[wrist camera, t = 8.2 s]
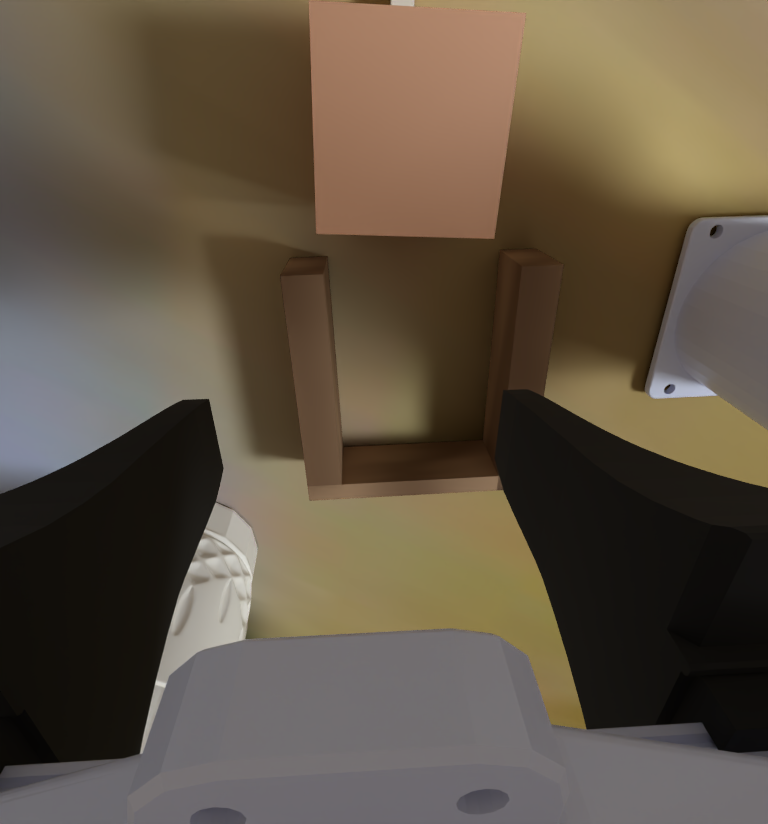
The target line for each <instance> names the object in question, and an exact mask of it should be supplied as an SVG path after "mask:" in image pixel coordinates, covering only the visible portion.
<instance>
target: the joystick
mask: <svg viewBox="0 0 768 824" xmlns="http://www.w3.org/2000/svg"><path fill="white" fill-rule="evenodd" d="M525 17H526V13H517V12H500V11H483V10H466V9H449V8H432V7H415V6H414V0H390V5H381V4H364V3H347V2H330V1H313V0H309V22H310V53H311V84H312V116H313V147H314V178H315V209H316V234H338V235H374V236H410V237H446V238H482V239H494V237H495V230H496V223H497V216H498V209H499V202H500V194H501V187H502V180H503V173H504V166H505V159H506V152H507V145H508V138H509V131H510V124H511V117H512V109H513V102H514V95H515V88H516V81H517V74H518V67H519V60H520V53H521V46H522V39H523V32H524V24H525Z"/></svg>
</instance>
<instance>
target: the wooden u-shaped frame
mask: <svg viewBox="0 0 768 824" xmlns="http://www.w3.org/2000/svg"><path fill="white" fill-rule="evenodd" d="M563 267H564V265H563V264H562V263H560V262H558V261H556V260H555V259H553V258H551V257H550V256H548V255H546V254H545V253H543V252H541V251H539V250H538V249H509V250H500V252H499V263H498V275H497V286H496V297H495V308H494V320H493V331H492V342H491V354H490V365H489V376H488V387H487V399H486V410H485V421H484V432H483V440H472V441H452V442H433V443H413V444H394V445H375V446H355V447H343V439H342V427H341V415H340V403H339V390H338V378H337V366H336V354H335V341H334V329H333V317H332V305H331V292H330V280H329V268H328V256H326V257H300V258H290V259H289V261H288V263H287V264H286V266H285V268H284V270H283V272H282V273H281V275H280V279H281V287H282V295H283V302H284V310H285V317H286V325H287V333H288V340H289V348H290V356H291V363H292V371H293V378H294V386H295V394H296V401H297V409H298V416H299V424H300V432H301V439H302V447H303V454H304V462H305V470H306V477H307V485H308V493H309V500H310V501H312V500H330V499H348V498H366V497H384V496H402V495H421V494H439V493H457V492H475V491H493V490H503V487H502V484H501V480H500V477H499V473H498V470H497V466H496V462H495V450H496V442H497V434H498V426H499V419H500V411H501V403H502V395H503V390H516V389H528V390H531V391H533V392H535V393H538V394H539V395H541V396H543V397H544V390H545V384H546V377H547V371H548V364H549V358H550V352H551V345H552V339H553V332H554V326H555V319H556V313H557V306H558V300H559V293H560V287H561V280H562V274H563Z"/></svg>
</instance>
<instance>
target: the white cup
mask: <svg viewBox="0 0 768 824" xmlns="http://www.w3.org/2000/svg"><path fill="white" fill-rule="evenodd" d="M257 551H258V548H257V544H256V541H255V538H254V534H253V531H252V528H251V527H250V526H249V525H248V524H247V523H246V522H245V521H244V520H243V519H242V518H241V517H240V516H239V515H238V514H237V513H236V512H235V511H234V510H232V509H230V508H228V507H226V506H223V505H221V504H219V503H216V502H215V505H214V508H213V510H212V513H211V515H210V518H209V520H208V523H207V525H206V528H205V530H204V533H203V535H202V538H201V540H200V543H199V545H198V547H197V550H196V552H195V555H194V557H193V560H192V562H191V564H190V567H189V569H188V572H187V574H186V577H185V579H184V582H183V585H182V588H181V590H180V593H179V596H178V599H177V603H176V607H175V610H174V614H173V617H172V621H171V624H170V628H169V631H168V635H167V639H166V643H165V647H164V651H163V654H162V658H161V662H160V666H159V670H158V674H157V678H156V682H155V687H154V691H153V695H152V700H151V704H150V709H149V713H148V718H147V722H146V726H145V731H144V735H143V740H142V745H141V751H140V754H142V753H143V750H144V747H145V744H146V741H147V739H148V736H149V733H150V730H151V727H152V724H153V721H154V718H155V716H156V713H157V710H158V707H159V704H160V701H161V698H162V695H163V692H164V690H165V687H166V684H167V681H168V678H169V675H171V674H172V673H173V672H174V671H175V670H177V669H178V668H179V667H180V666H181V665H183V664H184V663H185V662H186V661H187V660H189V659H190V658H191V657H192V656H194V655H195V654H196V653H197V652H199V651H202V650H204V649H207V648H211V647H216V646H220V645H224V644H229V643H233V642H237V641H242V640H245V638H246V632H247V622H248V616H249V611H250V603H251V584H252V578H253V573H254V568H255V562H256V557H257Z"/></svg>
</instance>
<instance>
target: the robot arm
mask: <svg viewBox="0 0 768 824" xmlns="http://www.w3.org/2000/svg"><path fill="white" fill-rule="evenodd" d="M715 225H716V226H717V230H716V232H715V234H713V235H712V236H710V231H711V229H712V228H713V227H714V226H715ZM669 384H670V387H669V388H668V389H667V390H664V389H665V387H666V386H667V385H669ZM645 392H646V394H648V395H649V396H650V397H651V398H656V399H657V398H678V397H698V396H720V397H721V398H723V399H724V400H725V401H727V402H728V403H730V404H731V405H733V406H734V407H735V408H737V409H738V410H740V411H741V412H743V413H744V414H745V415H747V416H748V417H750V418H751V419H753V420H754V421H755V422H757V423H758V424H760V425H761V426H763V427H764V428H766V429H767V430H768V215H757V216H730V217H703V218H698V219H696V220H695V221H693V222H692V223H691V224H690V226H689V227H688V229H687V232H686V236H685V239H684V243H683V247H682V251H681V254H680V258H679V262H678V265H677V269H676V273H675V277H674V280H673V284H672V288H671V292H670V295H669V299H668V303H667V306H666V310H665V314H664V318H663V321H662V325H661V329H660V333H659V336H658V340H657V344H656V347H655V351H654V355H653V359H652V362H651V366H650V370H649V373H648V377H647V381H646V385H645ZM495 462H496V466H497V470H498V473H499V477H500V480H501V484H502V487H503V490H504V493H505V495H506V497H507V500H508V502H509V504H510V506H511V509H512V511H513V513H514V515H515V517H516V520H517V522H518V524H519V526H520V528H521V530H522V533H523V535H524V537H525V539H526V541H527V543H528V546H529V548H530V550H531V552H532V554H533V557H534V559H535V561H536V563H537V566H538V568H539V571H540V573H541V576H542V578H543V581H544V584H545V587H546V590H547V593H548V596H549V599H550V602H551V605H552V608H553V611H554V614H555V618H556V621H557V624H558V627H559V631H560V634H561V637H562V641H563V644H564V647H565V651H566V654H567V657H568V661H569V665H570V668H571V672H572V675H573V679H574V683H575V686H576V690H577V694H578V697H579V701H580V705H581V708H582V712H583V716H584V720H585V724H586V728H587V730H584V729H578V728H571V727H565V726H558V725H551V723H550V720H549V717H548V714H547V711H546V708H545V705H544V702H543V699H542V696H541V693H540V690H539V687H538V684H537V682H536V679H535V676H534V673H533V670H532V667H531V664H530V661H529V658H528V656H527V655H526V654H524V653H523V652H522V651H520V650H519V649H517V648H516V647H514V646H513V645H511V644H510V643H508V642H507V641H505V640H504V639H502V638H501V637H499V636H497V635H494V634H491V633H483V632H475V631H467V630H459V629H432V630H413V631H394V632H375V633H356V634H337V635H318V636H299V637H280V638H261V639H246V640H242V641H237V642H233V643H229V644H224V645H220V646H216V647H211V648H207V649H204V650H202V651H199V652H197V653H196V654H195V655H194V656H192V657H191V658H190V659H189V660H187V661H186V662H185V663H184V664H183V665H181V666H180V667H179V668H178V669H177V670H175V671H174V672H173V673H172V674H171V675H169V678H168V681H167V684H166V687H165V690H164V692H163V695H162V698H161V701H160V704H159V707H158V710H157V713H156V716H155V718H154V721H153V724H152V727H151V730H150V733H149V736H148V739H147V741H146V744H145V747H144V750H143V753H142V754H140V751H141V745H142V740H143V735H144V731H145V726H146V722H147V718H148V713H149V709H150V704H151V700H152V695H153V691H154V687H155V682H156V678H157V674H158V670H159V666H160V662H161V658H162V654H163V651H164V647H165V643H166V639H167V635H168V631H169V628H170V624H171V621H172V617H173V614H174V610H175V607H176V603H177V599H178V596H179V593H180V590H181V588H182V585H183V582H184V579H185V577H186V574H187V572H188V569H189V567H190V564H191V562H192V560H193V557H194V555H195V552H196V550H197V547H198V545H199V543H200V540H201V538H202V535H203V533H204V530H205V528H206V525H207V523H208V520H209V518H210V515H211V513H212V510H213V508H214V505H215V502H216V499H217V495H218V491H219V487H220V482H221V478H222V473H223V464H222V459H221V454H220V449H219V445H218V440H217V435H216V430H215V426H214V421H213V416H212V411H211V407H210V402H209V399H196V400H182V401H180V402H178V403H176V404H174V405H172V406H170V407H168V408H166V409H165V410H163V411H161V412H160V413H158V414H156V415H155V416H153V417H152V418H150V419H148V420H147V421H145V422H143V423H142V424H140V425H138V426H137V427H135V428H134V429H132V430H130V431H129V432H127V433H125V434H124V435H122V436H120V437H119V438H117V439H115V440H113V441H112V442H110V443H108V444H106V445H104V446H103V447H101V448H99V449H97V450H96V451H94V452H92V453H90V454H88V455H87V456H85V457H83V458H81V459H79V460H77V461H75V462H73V463H71V464H69V465H67V466H65V467H63V468H61V469H59V470H57V471H55V472H53V473H50V474H48V475H46V476H44V477H42V478H39V479H37V480H35V481H33V482H30V483H28V484H26V485H23V486H20V487H18V488H15V489H13V490H10V491H7V492H5V493H2V494H0V824H768V488H766V487H762V486H758V485H754V484H749V483H745V482H742V481H738V480H734V479H731V478H727V477H724V476H720V475H717V474H714V473H711V472H707V471H704V470H701V469H698V468H695V467H692V466H688V465H685V464H683V463H680V462H677V461H674V460H671V459H669V458H666V457H664V456H661V455H659V454H656V453H654V452H651V451H649V450H646V449H644V448H641V447H639V446H637V445H634V444H632V443H630V442H628V441H625V440H623V439H621V438H619V437H617V436H615V435H613V434H611V433H609V432H607V431H605V430H603V429H601V428H599V427H597V426H595V425H593V424H592V423H590V422H588V421H586V420H584V419H582V418H581V417H579V416H577V415H575V414H573V413H572V412H570V411H568V410H566V409H565V408H563V407H561V406H559V405H558V404H556V403H554V402H552V401H551V400H549V399H547V398H545V397H543V396H541V395H539V394H538V393H535V392H533V391H531V390H528V389H516V390H503V395H502V403H501V411H500V419H499V426H498V434H497V442H496V450H495Z"/></svg>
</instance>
